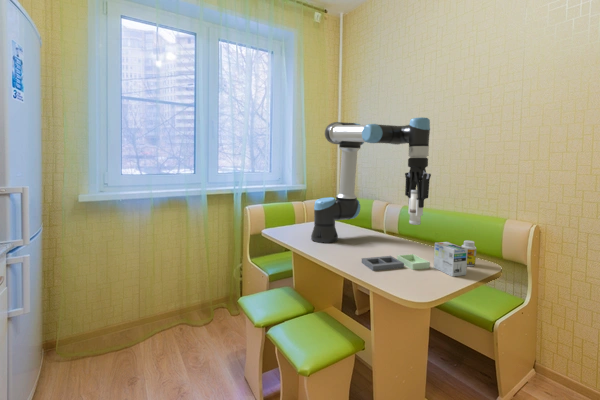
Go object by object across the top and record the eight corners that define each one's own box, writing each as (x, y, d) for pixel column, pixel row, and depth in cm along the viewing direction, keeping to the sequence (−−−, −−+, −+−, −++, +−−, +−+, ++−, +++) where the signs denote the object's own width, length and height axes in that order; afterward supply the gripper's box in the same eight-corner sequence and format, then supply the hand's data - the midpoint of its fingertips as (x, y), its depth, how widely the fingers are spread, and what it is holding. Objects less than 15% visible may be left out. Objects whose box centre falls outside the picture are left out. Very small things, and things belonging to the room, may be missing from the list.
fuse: (407, 222, 124) (408, 189, 122) (416, 222, 125) (417, 189, 124) (413, 225, 120) (415, 190, 118) (422, 224, 121) (424, 190, 119)
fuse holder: (361, 263, 127) (361, 258, 127) (390, 260, 131) (390, 255, 130) (372, 272, 118) (373, 266, 117) (403, 268, 121) (404, 263, 121)
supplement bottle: (457, 264, 126) (459, 241, 125) (463, 261, 130) (464, 238, 129) (472, 267, 122) (474, 243, 121) (477, 264, 126) (478, 241, 124)
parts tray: (396, 262, 129) (397, 255, 129) (412, 260, 131) (413, 254, 131) (412, 270, 119) (412, 263, 118) (429, 269, 121) (429, 262, 120)
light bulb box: (466, 275, 114) (468, 248, 113) (452, 277, 112) (454, 249, 111) (445, 266, 124) (447, 241, 123) (432, 267, 123) (434, 242, 121)
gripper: (397, 157, 127) (395, 211, 129) (424, 156, 110) (421, 218, 113) (412, 157, 128) (410, 210, 131) (441, 157, 112) (437, 217, 115)
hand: (415, 214), depth 122 cm, fingers closed on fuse, 4 cm apart
